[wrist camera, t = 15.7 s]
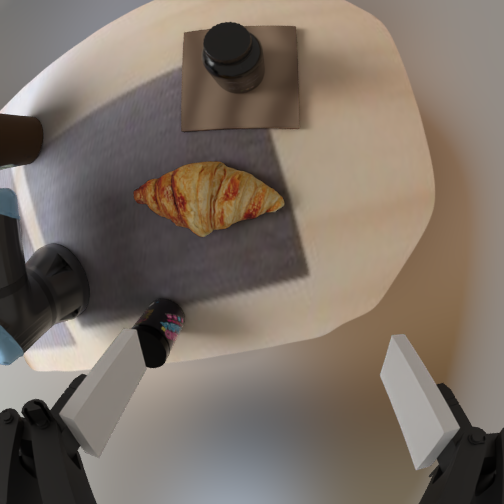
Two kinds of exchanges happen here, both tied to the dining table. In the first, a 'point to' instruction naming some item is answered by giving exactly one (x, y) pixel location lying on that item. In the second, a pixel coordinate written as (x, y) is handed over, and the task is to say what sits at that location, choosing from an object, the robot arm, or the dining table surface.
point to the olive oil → (19, 140)
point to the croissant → (208, 196)
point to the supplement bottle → (233, 57)
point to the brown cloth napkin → (246, 104)
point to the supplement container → (159, 331)
